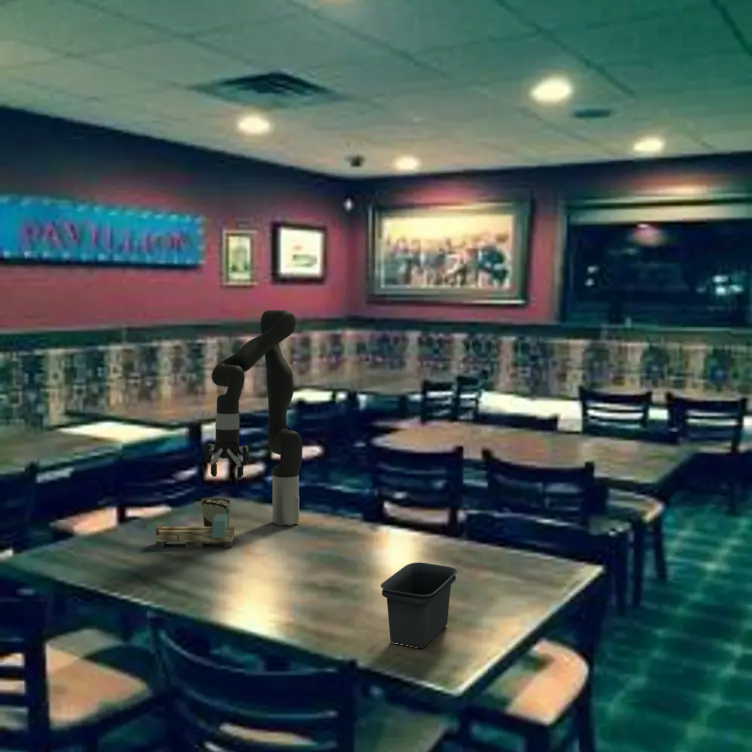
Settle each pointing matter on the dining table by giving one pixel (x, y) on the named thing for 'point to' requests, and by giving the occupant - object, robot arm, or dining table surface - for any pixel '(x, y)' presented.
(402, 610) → the storage bin
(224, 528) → the rider
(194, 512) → the dining table surface
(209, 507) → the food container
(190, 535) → the beam
